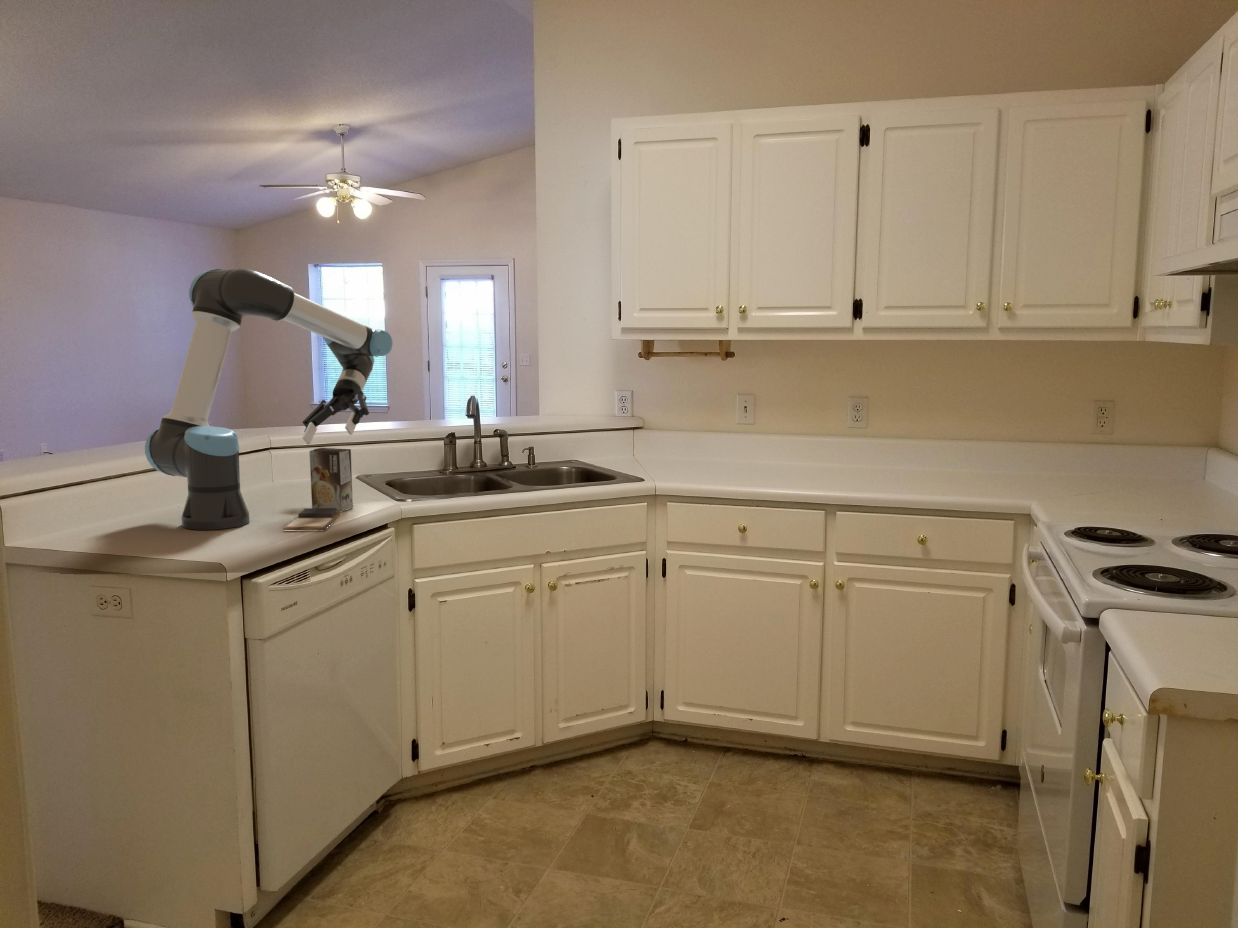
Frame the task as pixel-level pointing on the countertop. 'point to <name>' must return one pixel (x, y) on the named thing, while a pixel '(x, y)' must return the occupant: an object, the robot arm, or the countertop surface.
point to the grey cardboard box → (331, 478)
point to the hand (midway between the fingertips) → (327, 436)
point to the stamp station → (313, 519)
